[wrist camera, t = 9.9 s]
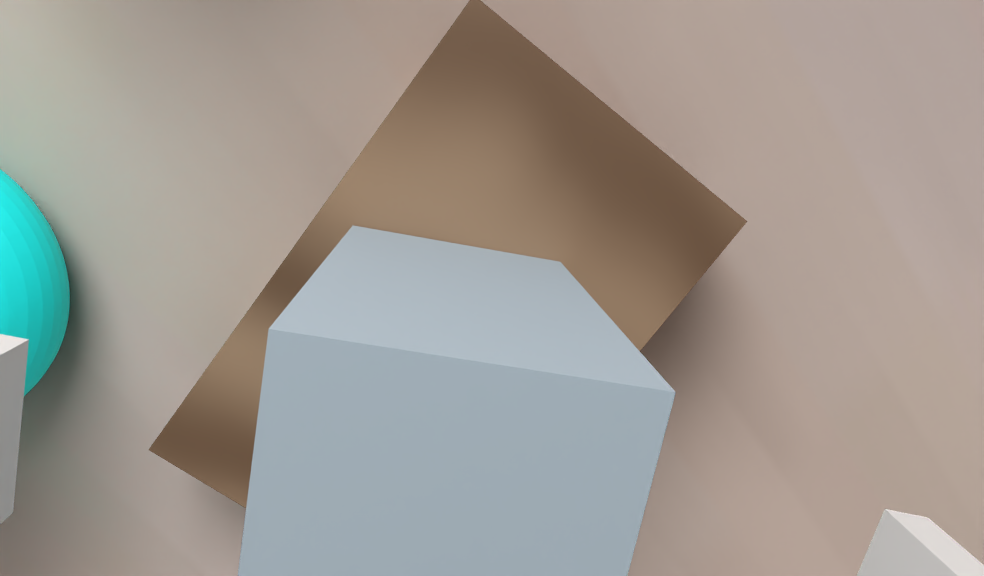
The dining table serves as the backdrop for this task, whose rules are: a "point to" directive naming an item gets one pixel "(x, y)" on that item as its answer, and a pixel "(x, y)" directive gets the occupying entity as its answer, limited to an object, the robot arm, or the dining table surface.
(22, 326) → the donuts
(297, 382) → the column
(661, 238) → the plinth
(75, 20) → the dining table surface
